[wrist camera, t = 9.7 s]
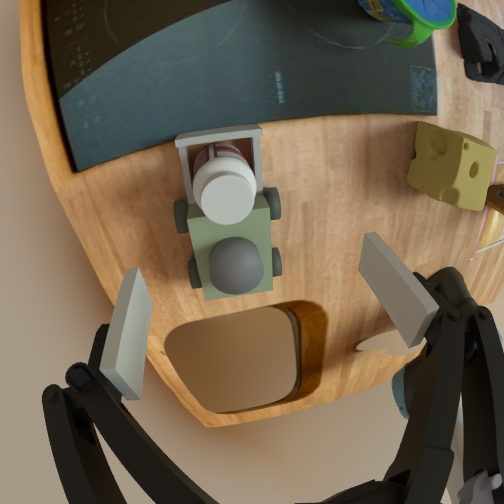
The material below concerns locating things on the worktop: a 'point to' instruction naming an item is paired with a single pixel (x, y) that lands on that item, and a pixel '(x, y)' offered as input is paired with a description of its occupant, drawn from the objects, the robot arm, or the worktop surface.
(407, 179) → the cheese
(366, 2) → the snack cup
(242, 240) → the toy lawn mower
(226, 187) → the pill bottle
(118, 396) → the robot arm
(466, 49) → the dark slate chunk
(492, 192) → the pancake mix bag
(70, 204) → the worktop surface
